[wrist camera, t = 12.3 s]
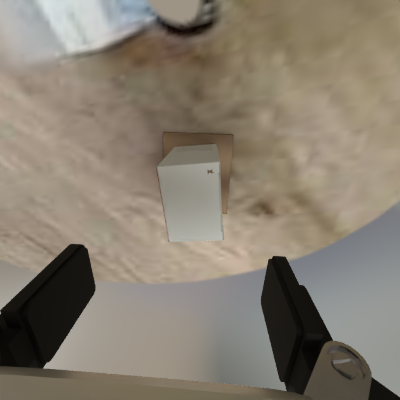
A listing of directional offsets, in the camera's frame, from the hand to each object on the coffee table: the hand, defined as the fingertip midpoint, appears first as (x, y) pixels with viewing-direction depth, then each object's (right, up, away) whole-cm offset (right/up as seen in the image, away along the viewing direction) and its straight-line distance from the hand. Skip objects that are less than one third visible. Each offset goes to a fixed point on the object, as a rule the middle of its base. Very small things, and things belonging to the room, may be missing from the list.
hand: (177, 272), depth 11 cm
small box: (+1, +7, +18) cm, 20 cm away
